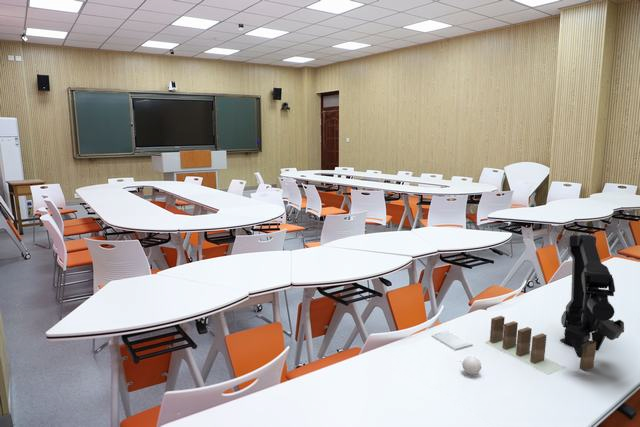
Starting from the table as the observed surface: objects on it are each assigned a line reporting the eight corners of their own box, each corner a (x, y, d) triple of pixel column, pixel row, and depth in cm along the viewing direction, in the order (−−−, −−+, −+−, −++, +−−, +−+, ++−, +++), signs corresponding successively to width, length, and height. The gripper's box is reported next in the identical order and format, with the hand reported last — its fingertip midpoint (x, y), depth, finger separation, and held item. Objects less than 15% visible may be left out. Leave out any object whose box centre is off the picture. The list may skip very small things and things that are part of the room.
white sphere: (483, 373, 142) (484, 357, 141) (475, 380, 138) (476, 363, 137) (461, 364, 147) (462, 348, 146) (452, 371, 144) (453, 354, 142)
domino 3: (515, 354, 153) (517, 330, 152) (525, 351, 156) (527, 327, 154) (519, 356, 152) (522, 331, 150) (529, 353, 154) (531, 328, 153)
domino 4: (530, 361, 149) (532, 336, 147) (539, 358, 151) (542, 333, 149) (534, 364, 147) (536, 338, 146) (544, 360, 150) (546, 335, 148)
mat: (501, 337, 167) (501, 336, 167) (565, 368, 145) (565, 367, 145) (484, 343, 163) (484, 342, 162) (547, 375, 141) (548, 374, 141)
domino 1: (489, 341, 163) (491, 318, 161) (499, 338, 165) (500, 315, 164) (493, 343, 161) (495, 320, 160) (502, 340, 164) (504, 317, 162)
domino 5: (579, 369, 144) (582, 343, 143) (588, 365, 147) (591, 340, 145) (584, 371, 143) (587, 345, 141) (593, 367, 145) (596, 342, 144)
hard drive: (431, 334, 167) (455, 348, 156) (448, 330, 171) (472, 343, 160) (431, 338, 167) (455, 353, 156) (448, 334, 171) (472, 347, 160)
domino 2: (502, 348, 158) (504, 324, 156) (511, 344, 160) (513, 321, 159) (506, 350, 157) (508, 325, 155) (515, 346, 159) (517, 322, 157)
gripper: (602, 323, 130) (596, 373, 133) (637, 311, 139) (630, 357, 142) (565, 310, 139) (560, 356, 142) (600, 299, 148) (595, 343, 151)
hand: (587, 353), depth 144 cm, fingers open, 9 cm apart
